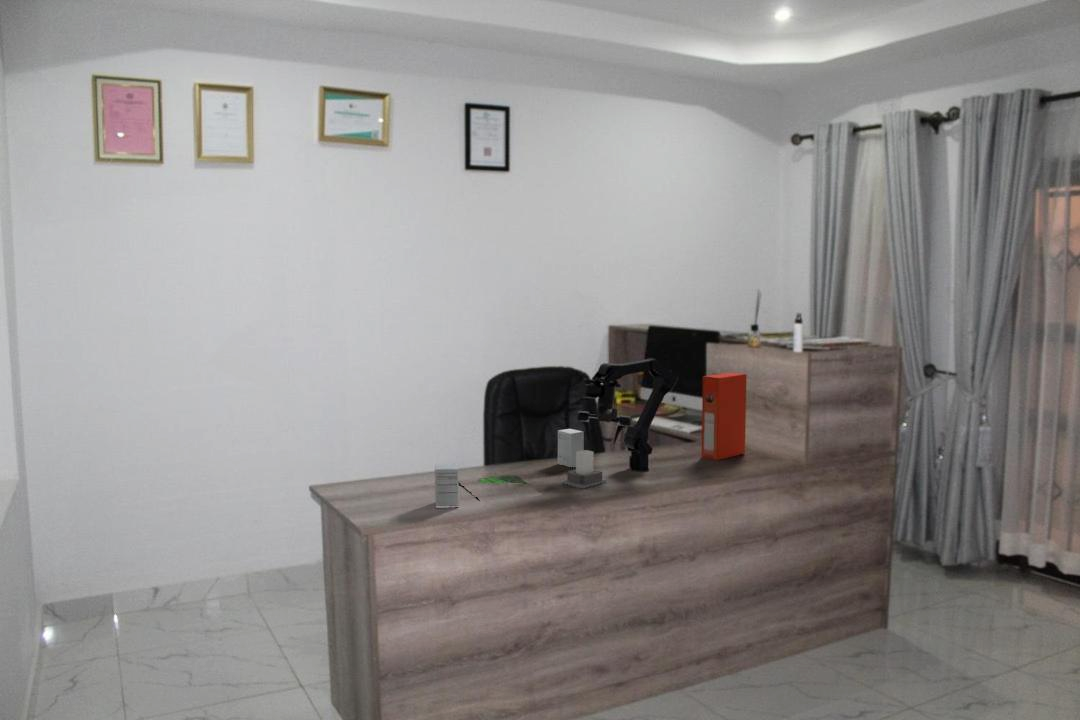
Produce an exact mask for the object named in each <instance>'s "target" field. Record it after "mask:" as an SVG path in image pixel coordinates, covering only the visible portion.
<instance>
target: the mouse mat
mask: <svg viewBox="0 0 1080 720" xmlns="http://www.w3.org/2000/svg"><path fill="white" fill-rule="evenodd" d="M478 479H479V480H478V482H480V483H481V482H483V483H508V482H510V483H522V484H528V483H527V482H526V481H524V480H523V479H522V478H521V477H520V476H517V475H504V476H494V477H483V478H478ZM528 485H529V486H531V485H530V484H528Z"/></svg>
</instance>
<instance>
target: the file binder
mask: <svg viewBox="0 0 1080 720" xmlns="http://www.w3.org/2000/svg"><path fill="white" fill-rule="evenodd" d="M701 403H702V406H701V412H702V413H701V421H702V422H701V458H703V459H707V460H708V459H709V460H714V461H720V460H725V459H727V458H732V457H735V456H740V454H741V455H744V454H745V453H746V425H747V424H746V417H747V416H746V415H747V414H746V412H747V374H746V373H740V372H739V373H738V372H725V373H720V374H719V373H717V374H713V375H712V374H711V375H704V376H702V401H701Z"/></svg>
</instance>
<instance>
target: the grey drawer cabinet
mask: <svg viewBox="0 0 1080 720" xmlns="http://www.w3.org/2000/svg"><path fill="white" fill-rule="evenodd" d="M459 481H460V480H459V463H435V465H434V491H435V493H434V494H435V507H436V506H458V505H459V506H460V496H459V495H460V490H459V489H460V487H459V486H460V484H459Z"/></svg>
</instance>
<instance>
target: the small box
mask: <svg viewBox="0 0 1080 720" xmlns="http://www.w3.org/2000/svg"><path fill="white" fill-rule="evenodd" d="M584 434H585V432H584V431H583V430H577V429H573V428H565V429H559V430H557V465H561V466H563V465H564V467H567V468H570V467H571V468H572V467H573V468H576V452H580V451H584V450H585V449H584V448H585V447H584V444H585V443H584V436H585V435H584ZM571 468H570V469H571Z"/></svg>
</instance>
